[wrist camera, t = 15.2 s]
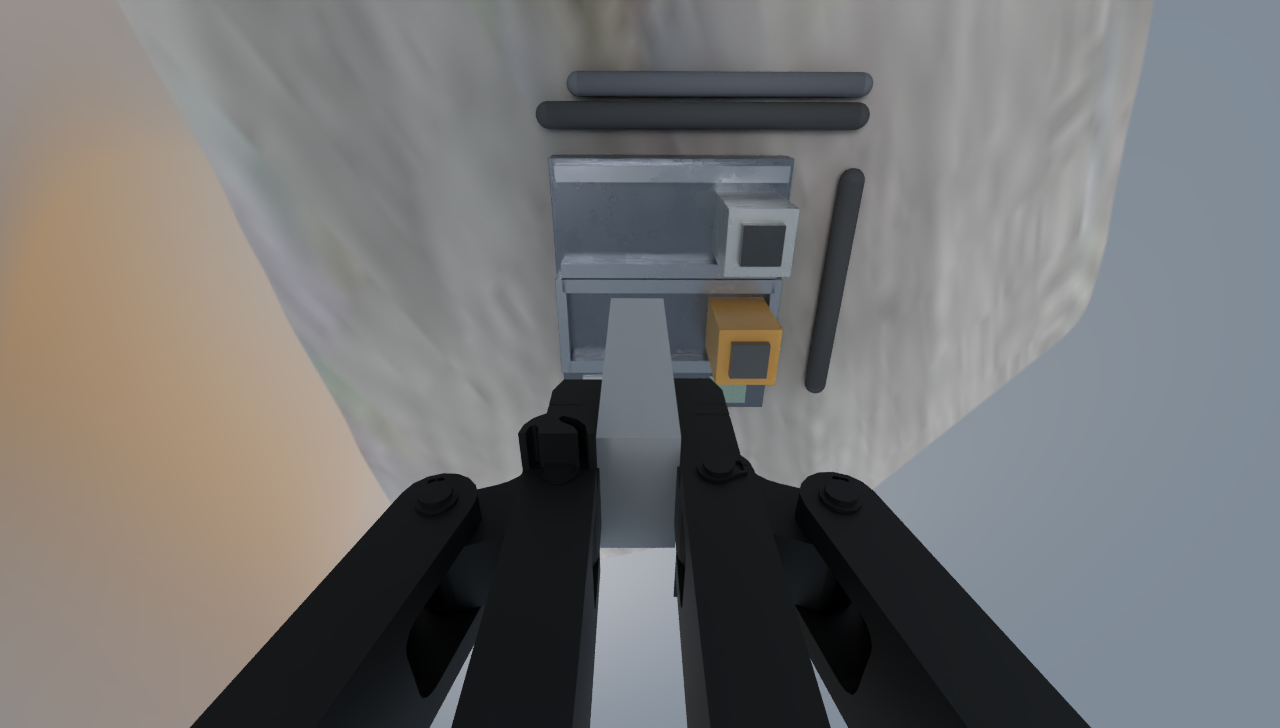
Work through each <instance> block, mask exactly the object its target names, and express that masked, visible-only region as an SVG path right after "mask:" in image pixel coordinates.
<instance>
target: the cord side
mask: <svg viewBox="0 0 1280 728" xmlns="http://www.w3.org/2000/svg"><path fill="white" fill-rule="evenodd" d="M864 182H865V177H864V174H863V172H862V171H861V170H859V169H856V168H851V169H848V170H846V171H845V172H844V173H843V174H842V175H841V177H840V182H839V188H838V193H837V199H836V205H835V211H834V217H833V222H832V228H831V234H830V240H829V246H828V252H827V257H826V263H825V269H824V275H823V281H822V287H821V292H820V298H819V304H818V310H817V316H816V321H815V327H814V333H813V339H812V345H811V351H810V356H809V362H808V368H807V374H806V380H805V386H806V388H807V390H808V391H810V392H811V393H819V392H821V391H822V390H823V389H824V388H825V384H826V379H827V374H828V368H829V363H830V358H831V353H832V348H833V342H834V337H835V332H836V327H837V322H838V317H839V311H840V306H841V301H842V296H843V291H844V285H845V280H846V275H847V270H848V265H849V259H850V254H851V249H852V244H853V239H854V234H855V228H856V223H857V218H858V213H859V208H860V202H861V197H862V192H863V187H864Z"/></svg>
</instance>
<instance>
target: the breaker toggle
mask: <svg viewBox="0 0 1280 728" xmlns="http://www.w3.org/2000/svg"><path fill="white" fill-rule="evenodd" d="M782 332H783V330H782V328H781V326H780V325H779V323H778V321H777V320H776V318H775V316H774V315H773V313H772V311H771V310H770V308H769V306H768V305H767V303H766V302H765V300H764V298H763V297H708V310H707V325H706V340H705V348H706V351H707V355H708V359H709V363H710V367H711V370H712V374H713V378H714V382H715V383H716V384H717V385H775V382H776V374H777V367H778V360H779V353H780V346H781V339H782Z"/></svg>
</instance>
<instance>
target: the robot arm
mask: <svg viewBox="0 0 1280 728" xmlns="http://www.w3.org/2000/svg"><path fill="white" fill-rule="evenodd" d="M518 436H519V444H520V452H521V460H522V468H523V472H522V474H521V475H520V476H519V477H517V478H515V479H513V480H511V481H508V482H505V483H502V484H499V485H495V486H490V487H486V488H482V489H477V488H476V485H475V484H474V483H473V482H472V481H471V480H470V479H469V478H468V477H465V476H462V475H459V474H445V473H443V474H438V475H434V476H429V477H426V478H424V479H422V480H420V481H418V482H416V483H413V484H412V485H411V486H410V487H409V488H407V489H406V490H405V491H404V492H402V493H401V495H400V496H399V497H398V498H397V499H396V500H395V501H394V502H393V503H392V505H391V506H390V507H389V508H388V509H387V510H386V511H385V512H384V513H383V514H382V516H381V517H380V518H379V519H378V520H377V521H376V522H375V523H374V525H373V526H372V527H371V528H370V529H369V530H368V531H367V532H366V533H365V534H364V536H363V537H362V538H361V539H360V540H359V541H358V542H357V543H356V545H355V546H354V547H353V548H352V549H351V550H350V551H349V552H348V553H347V554H346V555H345V557H344V558H343V559H342V560H341V561H340V562H339V563H338V564H337V565H336V566H335V568H334V569H333V570H332V571H331V572H330V573H329V574H328V575H327V576H326V578H325V579H324V580H323V581H322V582H321V583H320V584H319V585H318V586H317V588H316V589H315V590H314V591H313V592H312V593H311V594H310V595H309V596H308V597H307V599H306V600H305V601H304V602H303V603H302V604H301V605H300V606H299V607H298V609H297V610H296V611H295V612H294V613H293V614H292V615H291V616H290V617H289V618H288V620H287V621H286V622H285V623H284V624H283V625H282V626H281V627H280V628H279V630H278V631H277V632H276V633H275V634H274V635H273V636H272V637H271V638H270V640H269V641H268V642H267V643H266V644H265V645H264V646H263V647H262V648H261V649H260V651H259V652H258V653H257V654H256V655H255V656H254V657H253V658H252V659H251V661H250V662H249V663H248V664H247V665H246V666H245V667H244V668H243V670H241V672H240V673H239V674H238V675H237V676H236V677H235V678H234V679H233V680H232V682H231V683H230V684H229V685H228V686H227V687H226V688H225V689H224V690H223V692H222V693H221V694H220V695H219V696H218V697H217V698H216V699H215V700H214V701H213V703H212V704H211V705H210V706H209V707H208V708H207V709H206V710H205V711H204V713H203V714H202V715H201V716H200V717H199V718H198V719H197V720H196V721H195V723H194V724H193V725H192V726H191V727H190V728H430V726H431V724H432V722H433V720H434V718H435V716H436V715H437V713H438V711H439V709H440V707H441V705H442V703H443V702H444V700H445V698H446V696H447V694H448V692H449V690H450V688H451V686H452V685H453V683H454V681H455V679H456V677H457V675H458V674H459V672H460V670H461V668H462V666H463V664H464V662H465V661H466V659H467V657H468V654H469V653H470V651H471V649H472V647H473V646H474V648H473V652H472V655H471V659H470V662H469V666H468V669H467V673H466V677H465V680H464V684H463V687H462V691H461V695H460V698H459V703H458V706H457V709H456V713H455V716H454V720H453V723H452V727H451V728H590V717H591V703H592V688H593V673H594V658H595V657H594V656H595V642H596V628H597V626H596V625H597V612H598V597H599V581H600V548H667V547H668V548H669V547H670V548H671V547H672V548H674V547H675V540H676V567H675V582H674V583H675V584H674V597H677V599H678V611H679V625H680V638H681V649H682V650H681V651H682V663H683V676H684V688H685V701H686V715H687V727H688V728H831V727H830V724H829V721H828V717H827V714H826V711H825V707H824V704H823V700H822V697H821V694H820V690H819V687H818V683H817V680H816V677H815V673H814V670H813V667H812V663H811V660H812V662H813V664H814V666H815V668H816V670H817V671H818V673H819V675H820V677H821V679H822V680H823V682H824V684H825V686H826V688H827V690H828V692H829V693H830V695H831V697H832V699H833V700H834V702H835V704H836V706H837V708H838V710H839V712H840V713H841V715H842V717H843V719H844V720H845V722H846V724H847V726H848V728H1091V727H1090V726H1089V725H1088V724H1087V723H1086V722H1085V721H1084V720H1083V719H1082V717H1081V716H1080V715H1079V714H1078V713H1077V712H1076V711H1075V710H1074V709H1073V708H1072V706H1070V704H1069V703H1068V702H1067V701H1066V700H1065V699H1064V698H1063V697H1062V696H1061V694H1060V693H1059V692H1058V691H1057V690H1056V689H1055V688H1054V687H1053V686H1052V685H1051V684H1050V683H1049V682H1048V680H1047V679H1046V678H1045V677H1044V676H1043V675H1042V674H1041V673H1040V672H1039V671H1038V669H1037V668H1036V667H1034V665H1033V664H1032V663H1031V662H1030V661H1029V660H1028V659H1027V658H1026V656H1025V655H1024V654H1023V653H1022V652H1021V651H1020V650H1019V649H1018V648H1017V647H1016V645H1015V644H1014V643H1013V642H1012V641H1011V640H1010V639H1009V638H1008V637H1007V636H1006V635H1005V633H1004V632H1003V631H1002V630H1001V629H1000V628H999V627H998V626H997V625H996V624H995V623H994V622H993V620H992V619H991V618H990V617H989V616H988V615H987V614H986V613H985V612H984V611H983V610H982V609H981V607H980V606H979V605H978V604H977V603H976V602H975V601H974V600H973V599H972V598H971V596H970V595H969V594H968V593H967V592H966V591H965V590H964V589H963V588H962V587H961V586H960V584H959V583H958V582H957V581H956V580H955V579H954V578H953V577H952V576H951V575H950V574H949V573H948V571H947V570H946V569H945V568H944V567H943V566H942V565H941V564H940V563H939V562H938V561H937V559H936V558H935V557H933V555H932V554H931V553H930V552H929V551H928V550H927V549H926V548H925V546H924V545H923V544H922V543H921V542H920V541H919V540H918V539H917V538H916V537H915V535H913V533H912V532H911V531H910V530H909V529H908V528H907V527H906V526H905V525H904V524H903V522H902V521H900V519H899V518H898V517H897V516H896V515H895V514H894V513H893V511H892V510H891V509H890V508H889V507H888V506H887V505H886V504H885V503H884V502H883V501H882V499H881V498H880V497H879V496H878V495H877V494H876V493H875V492H874V491H873V490H872V489H871V488H869V487H868V486H867V485H866V484H864V483H863V482H861V481H859V480H857V479H855V478H853V477H851V476H849V475H844V474H840V473H835V472H819V473H816V474H813V475H811V476H808V477H807V478H806V479H805V480H804V481H803V482H802V483H801V487H800V488H796V487H792V486H788V485H783V484H779V483H776V482H773V481H769V480H767V479H765V478H763V477H761V476H759V475H757V474H756V473H755V471H754V469H753V467H752V466H751V464H750V462H749V461H748V460H746V459H745V458H744V457H742V456H741V455H740V451H739V448H738V444H737V441H736V437H735V433H734V430H733V426H732V423H731V419H730V416H729V412H728V408H727V405H726V401H725V397H724V394H723V390H722V389H721V388H720V387H719V386H718V385H717V384H716V383H715V382H714V381H713V380H712V379H711V378H673V370H672V362H671V354H670V346H669V338H668V331H667V323H666V315H665V307H664V299H663V298H611V302H610V311H609V321H608V330H607V340H606V349H605V358H604V368H603V377H602V379H564V380H563V381H562V382H561V383H560V384H559V385H558V386H557V387H556V388H555V389H554V390H553V392H552V396H551V399H550V403H549V407H548V411H547V414H544V415H541V416H538V417H535V418H533V419H531V420H530V421H529V422H527V423H526V424H524V425H523V427H522V428H521V430H520V431H519V433H518ZM810 659H811V660H810Z"/></svg>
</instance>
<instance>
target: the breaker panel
mask: <svg viewBox="0 0 1280 728" xmlns="http://www.w3.org/2000/svg"><path fill="white" fill-rule="evenodd" d="M548 159H549V172H550V186H551V200H552V214H553V228H554V242H555V256H556V269H557V277H556V279H555V283H556V297H557V310H558V324H559V337H560V351H561V364H562V373H564V379H602V377H603V368H604V358H605V349H606V340H607V330H608V321H609V311H610V302H611V298H663V299H664V307H665V315H666V323H667V331H668V338H669V346H670V354H671V362H672V370H673V378H711V379H712V380H713V381H714V378H713V374H712V370H711V367H710V363H709V359H708V355H707V351H706V348H705V340H706V325H707V310H708V297H763V298H764V300H765V302H766V303H767V305H768V306H769V308H770V310H771V311H772V313H773V315H774V316H775V318H776V320H777V317H778V310H779V302H780V295H781V287H782V279H781V277H790V274H791V267H792V260H793V253H794V246H795V239H796V232H797V225H798V218H799V211H800V209H799V208H798V207H796V206H795V205H794V204H792V203H791V202H789V195H790V188H791V180H792V172H793V165H794V159H793V158H790V157H788V156H708V155H552V156H551V157H550V158H548ZM718 386H719V387H720V388H721V389H722V390H723V394H724V397H725V401H726V405H727V407H762V401H763V394H764V386H765V385H718Z"/></svg>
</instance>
